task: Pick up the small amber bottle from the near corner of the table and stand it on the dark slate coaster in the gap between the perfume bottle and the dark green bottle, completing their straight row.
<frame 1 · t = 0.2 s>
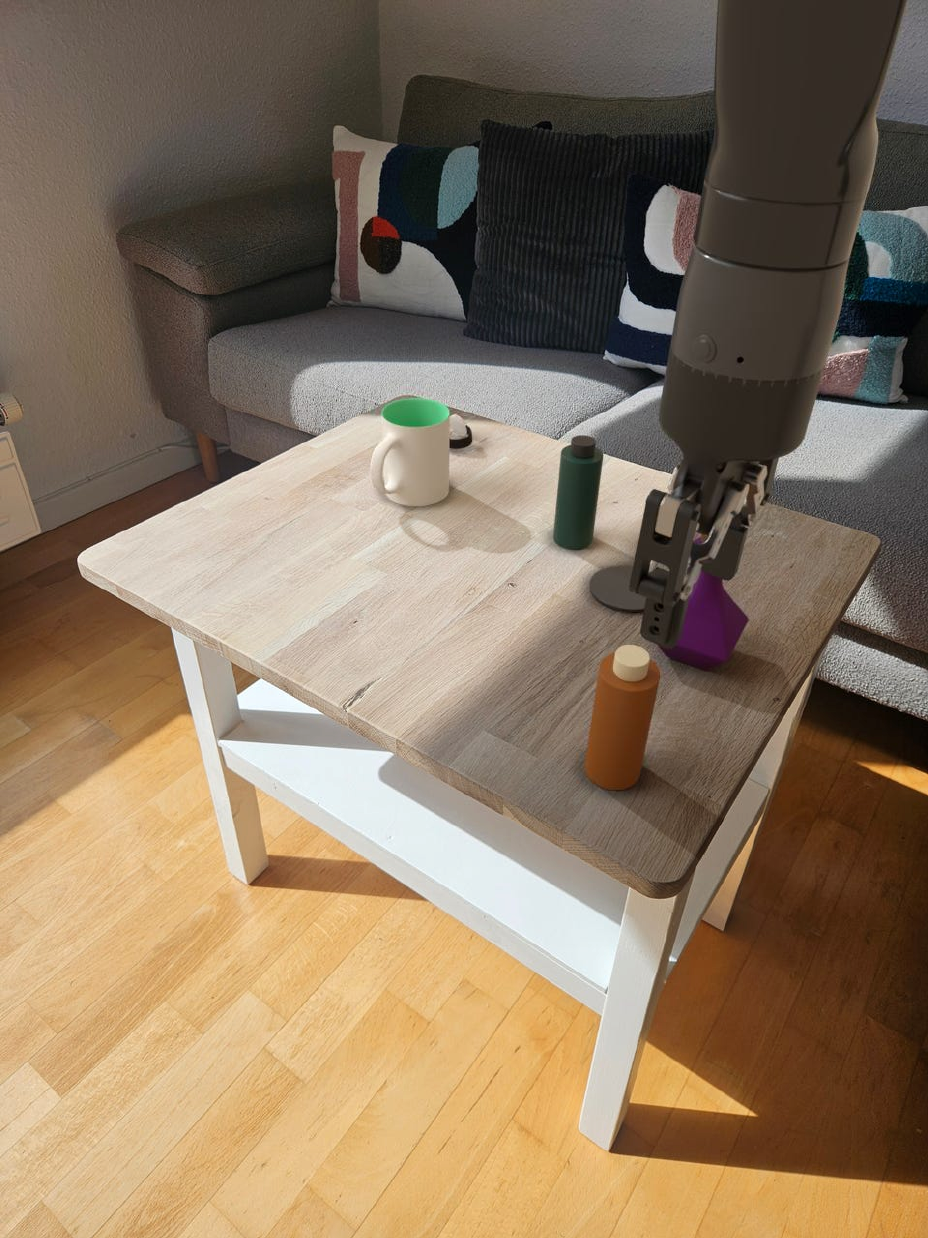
hand: (689, 605, 53), 23 cm above the table, tool pointing down, fingers open, 8 cm apart
watch: (449, 442, 120), on the table
green bottle: (572, 539, 101), on the table
perfume bottle: (693, 654, 85), on the table
slate coaster: (626, 589, 93), on the table
amber bottle: (612, 769, 73), on the table
mug: (408, 497, 108), on the table
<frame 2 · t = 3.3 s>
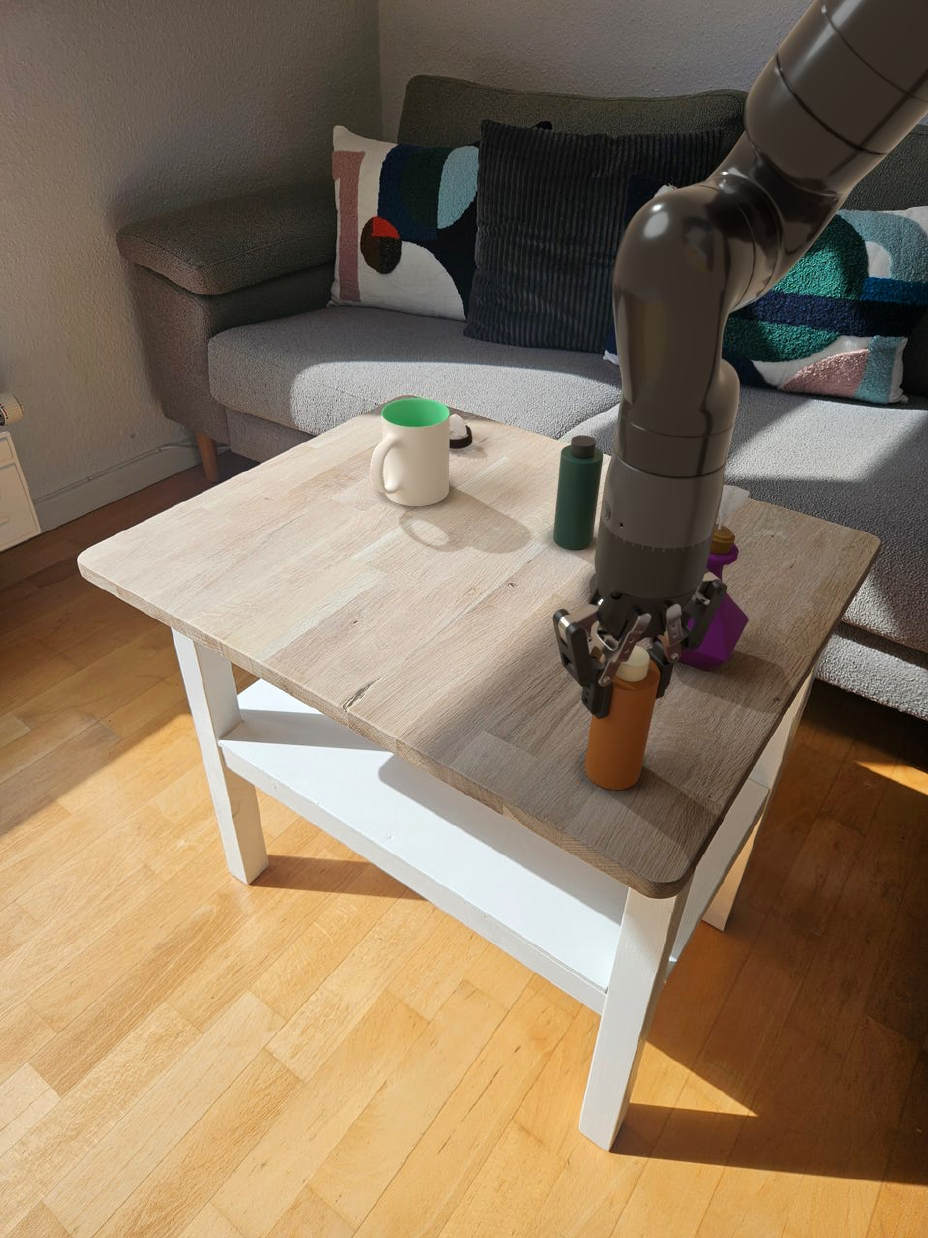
hand: (624, 700, 68), 8 cm above the table, tool pointing down, fingers closed on amber bottle, 4 cm apart
amber bottle: (612, 769, 73), on the table, touching gripper
everything else where it was.
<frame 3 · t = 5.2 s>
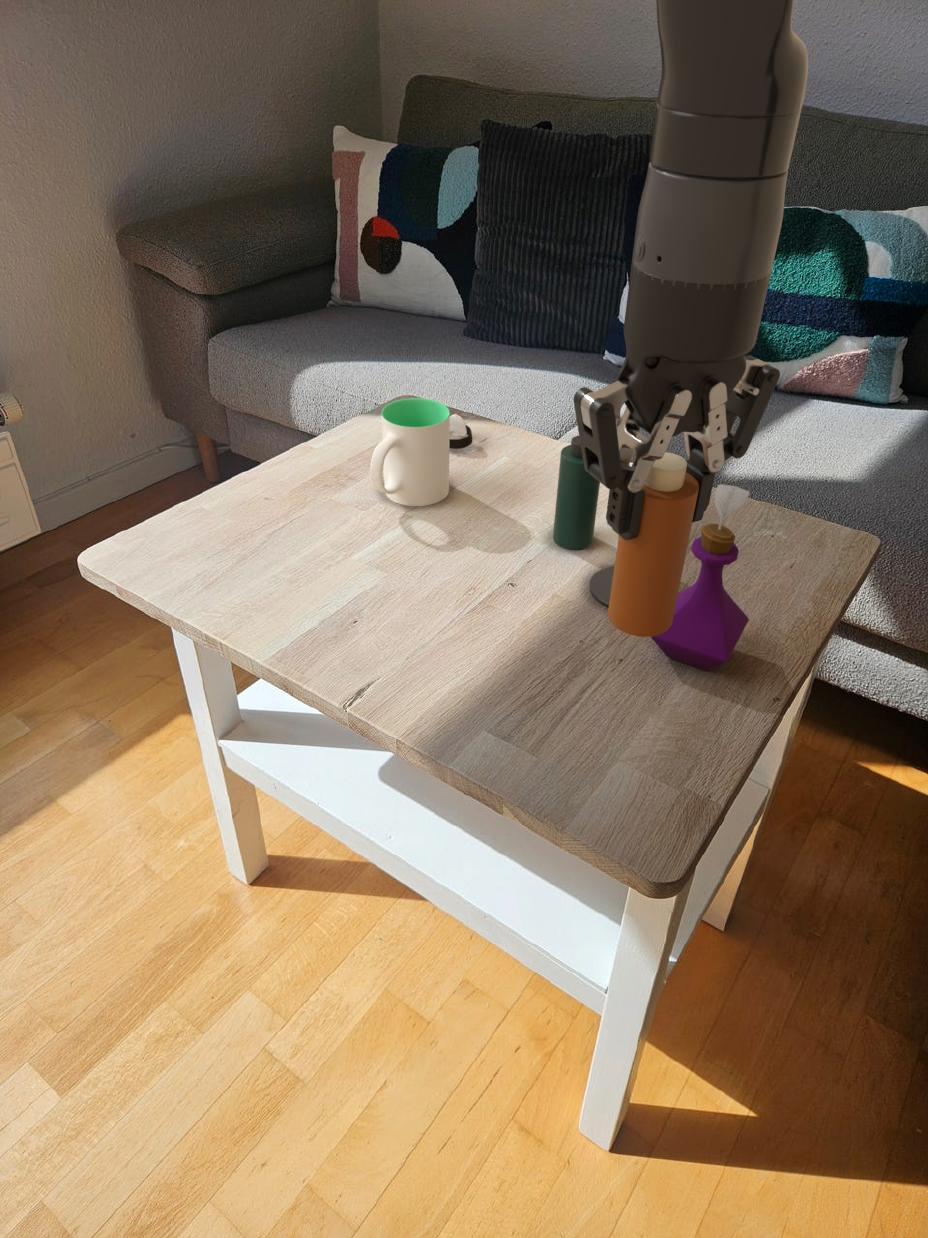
hand: (656, 523, 58), 24 cm above the table, tool pointing down, fingers closed on amber bottle, 4 cm apart
amber bottle: (639, 617, 63), point 16 cm above the table, touching gripper
everything else where it was.
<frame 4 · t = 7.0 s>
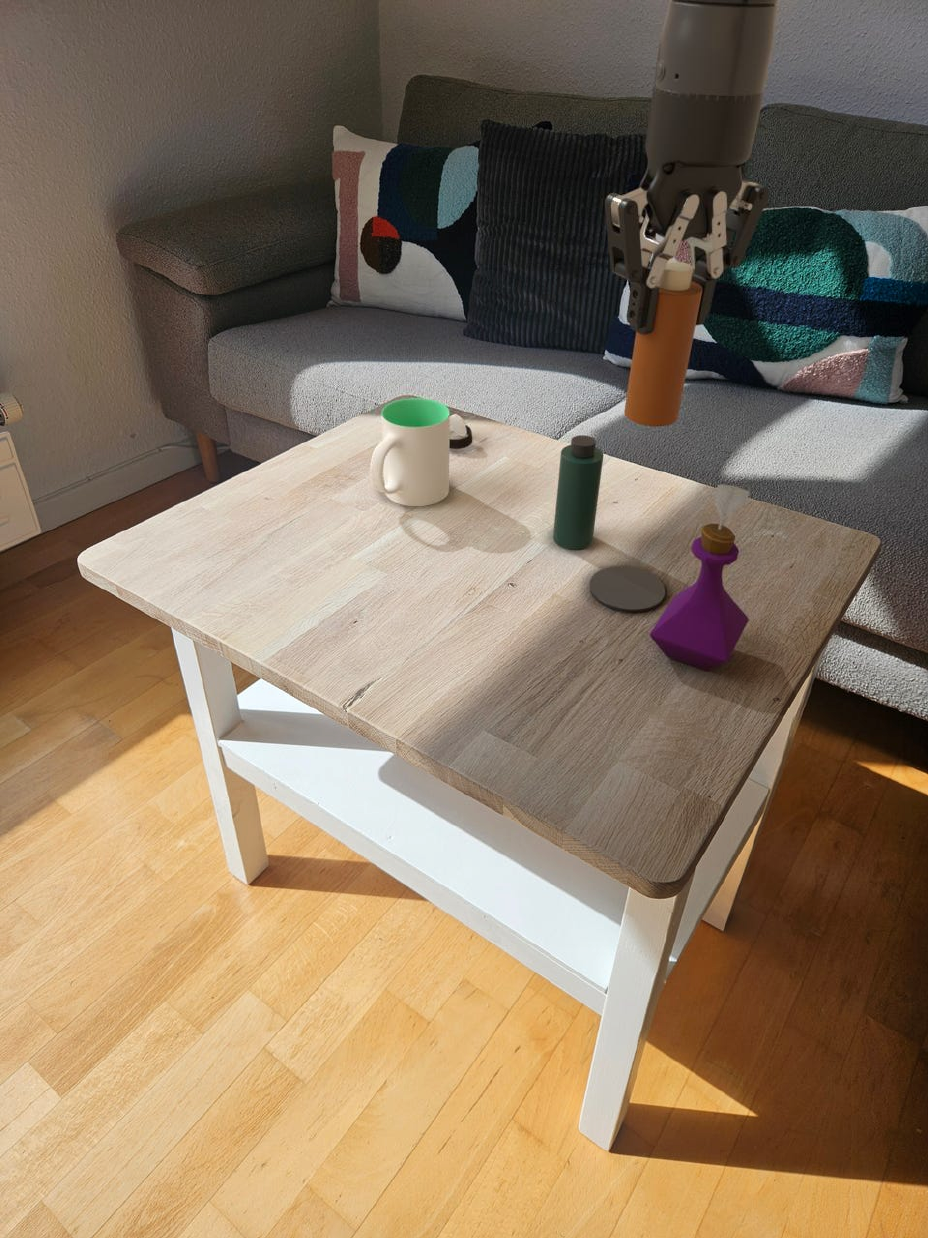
hand: (666, 325, 71), 30 cm above the table, tool pointing down, fingers closed on amber bottle, 4 cm apart
amber bottle: (650, 414, 76), point 22 cm above the table, touching gripper
everything else where it was.
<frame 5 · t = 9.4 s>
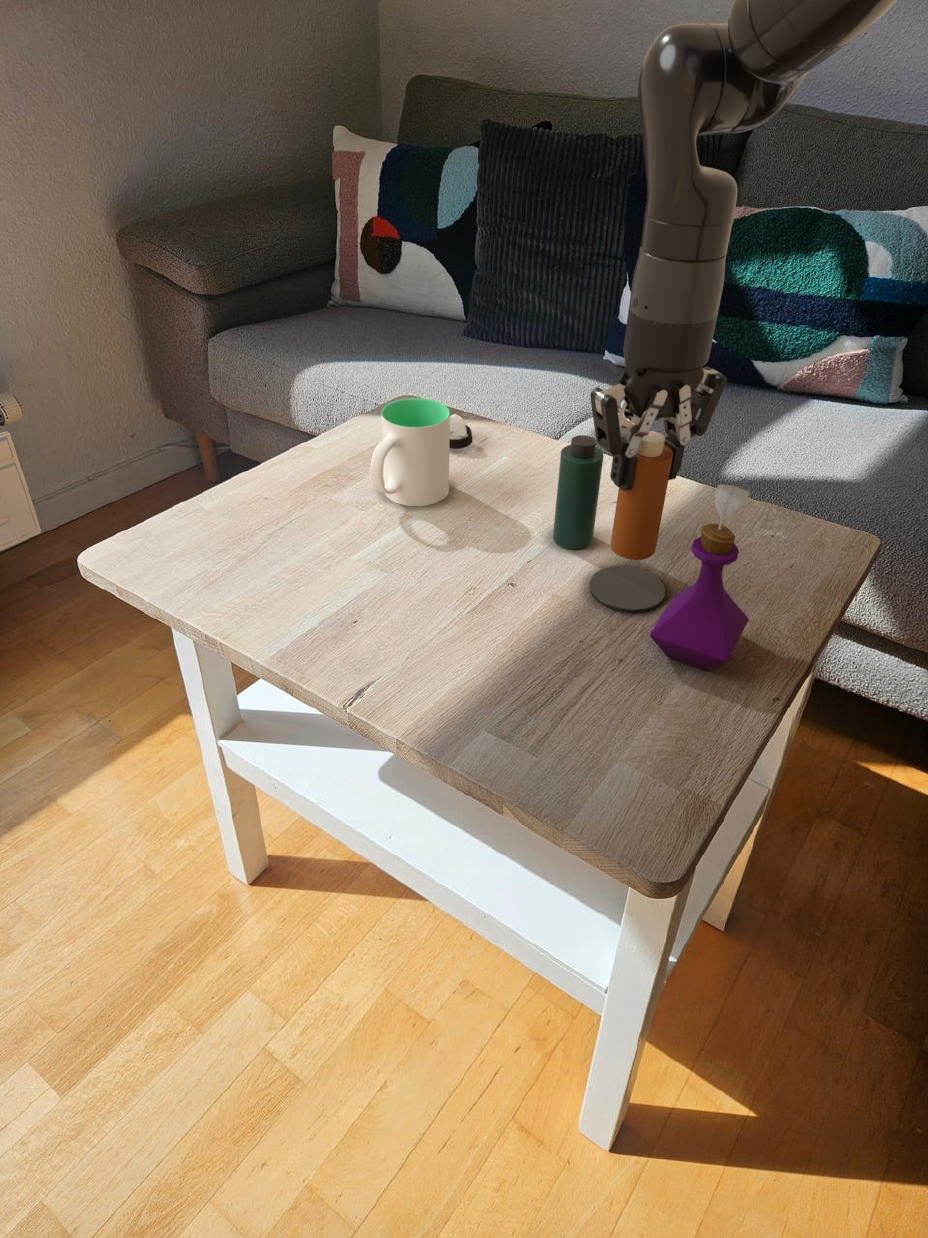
hand: (644, 480, 85), 13 cm above the table, tool pointing down, fingers closed on amber bottle, 4 cm apart
amber bottle: (632, 547, 90), point 5 cm above the table, touching gripper
everything else where it was.
when the fingers open (8 cm above the table, at t = 11.0 s): amber bottle stays where it is, resting on slate coaster.
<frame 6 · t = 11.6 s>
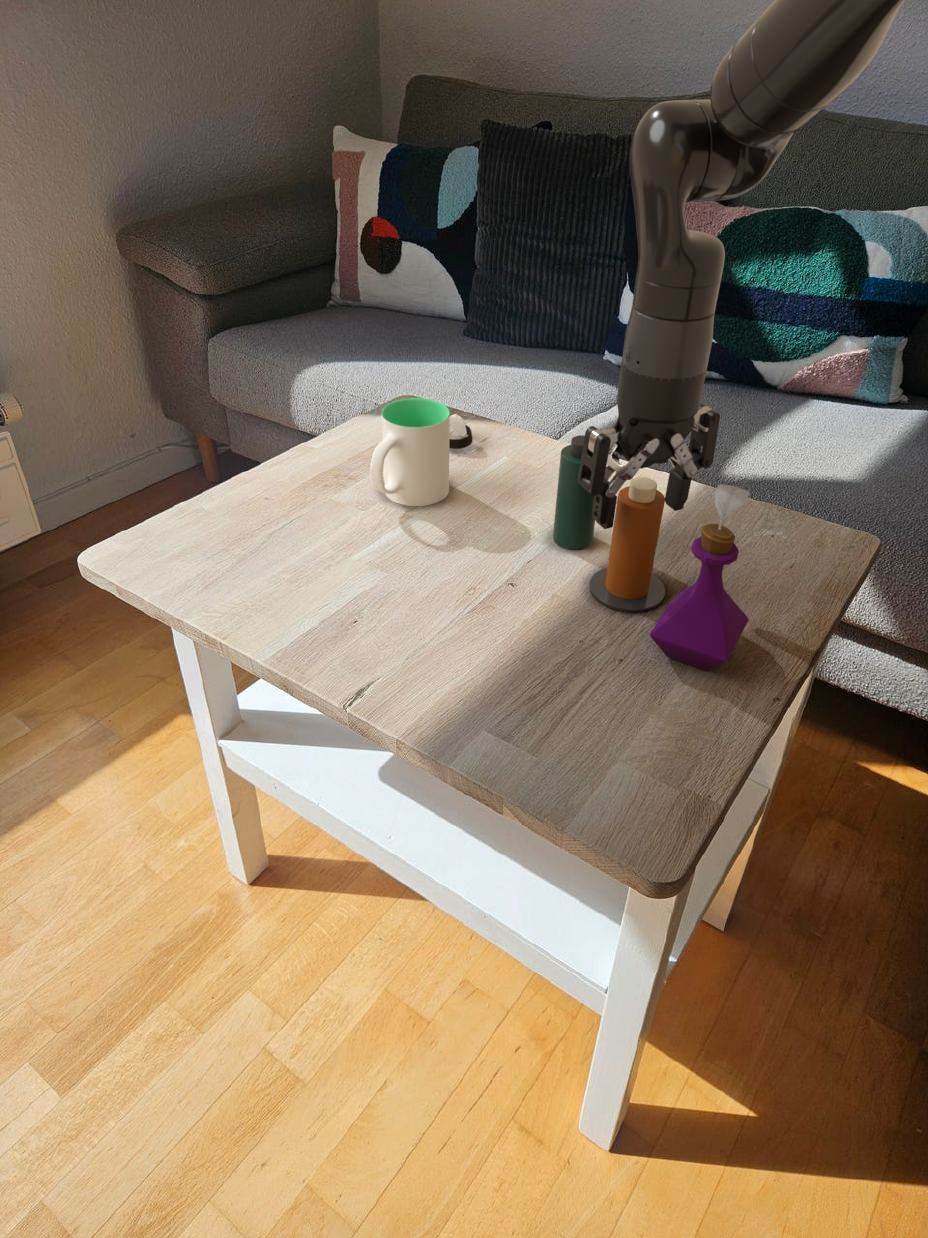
hand: (639, 515, 87), 9 cm above the table, tool pointing down, fingers open, 8 cm apart
amber bottle: (626, 586, 93), resting on slate coaster
everything else where it was.
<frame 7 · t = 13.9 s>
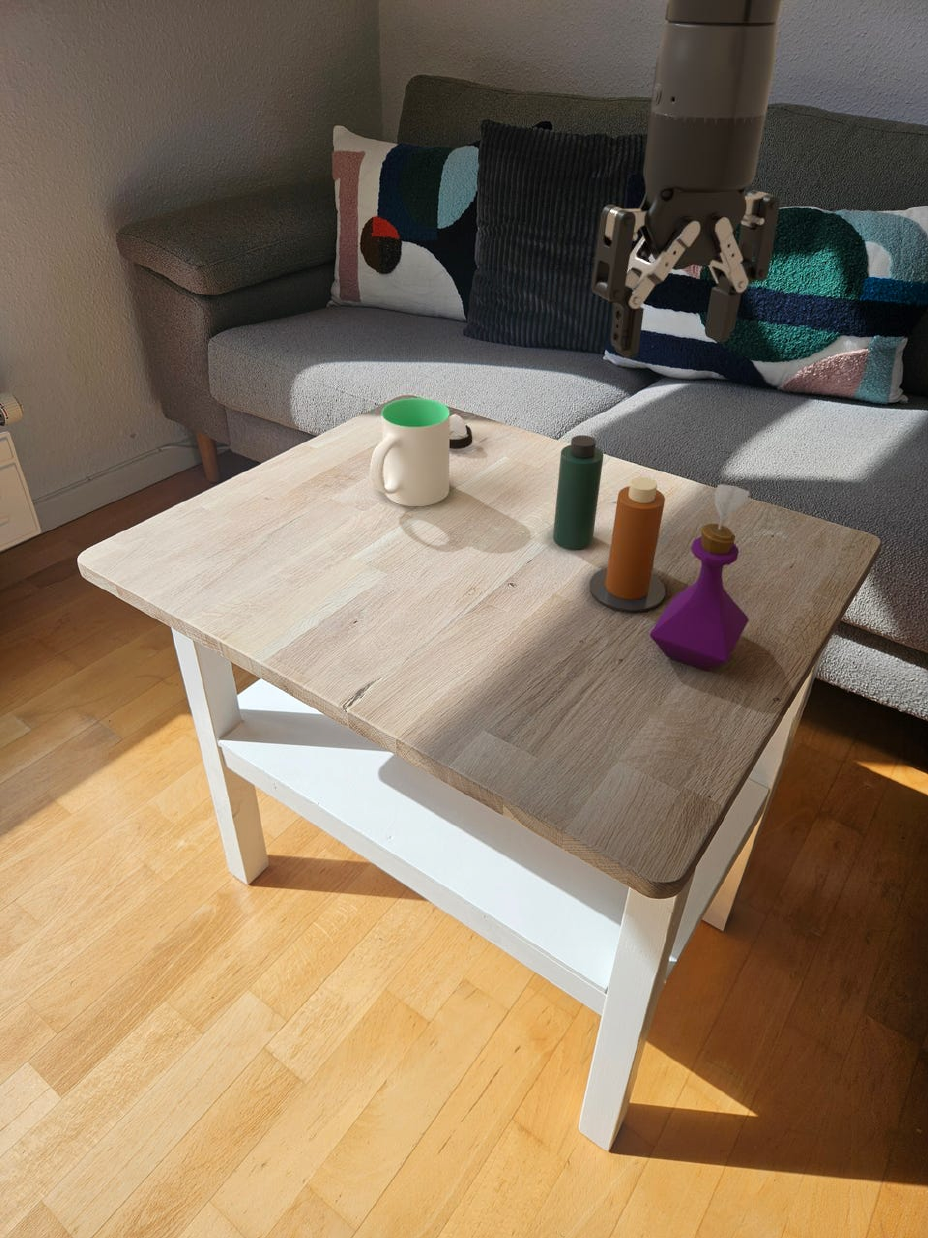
hand: (671, 346, 67), 30 cm above the table, tool pointing down, fingers open, 8 cm apart
nothing on the table moved.
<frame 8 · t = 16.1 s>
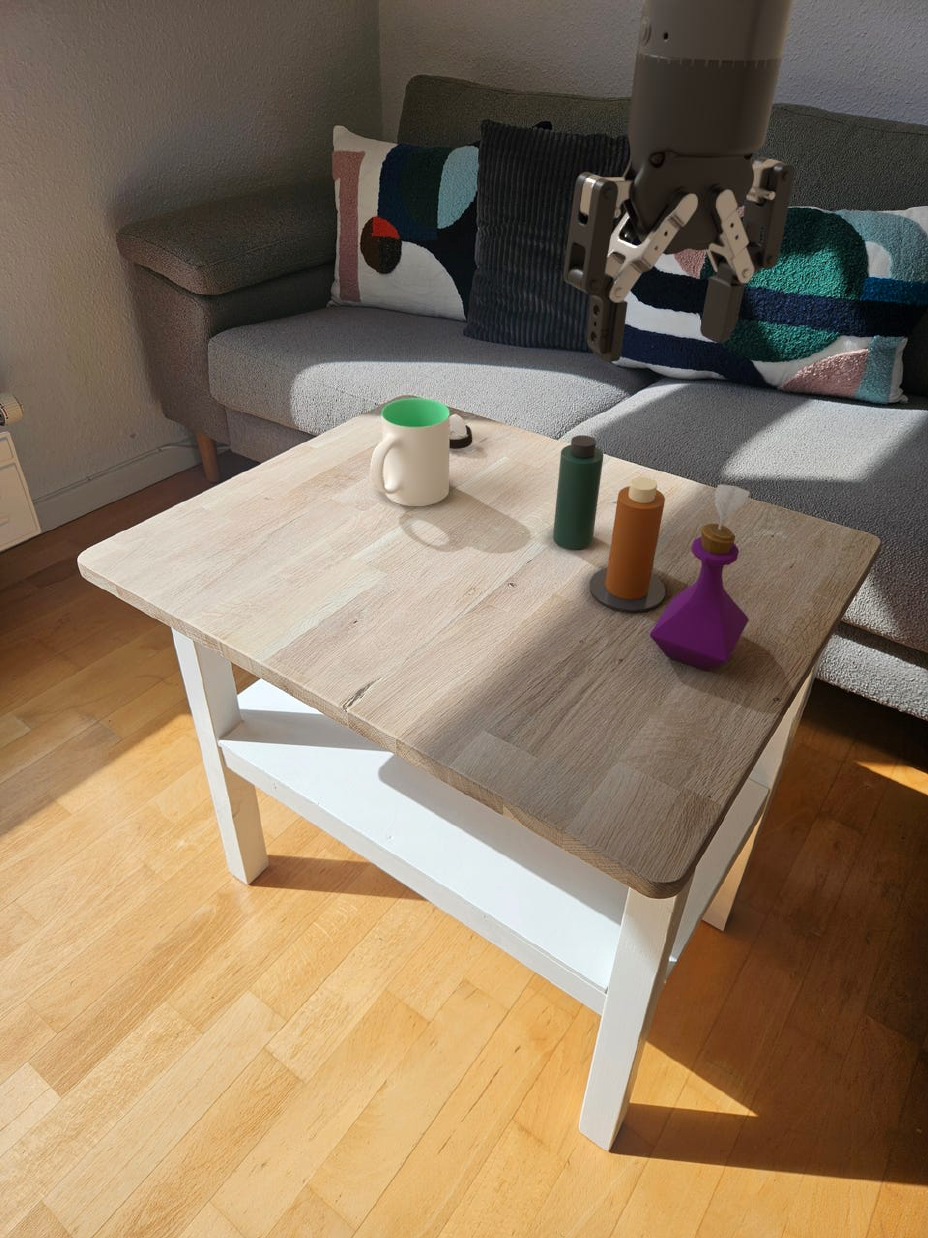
hand: (661, 347, 56), 34 cm above the table, tool pointing down, fingers open, 8 cm apart
nothing on the table moved.
at the end: amber bottle 0.1 cm off-centre on the slate coaster, point 0.4 cm above the slate coaster's base; amber bottle tilted 0°; the gripper is holding nothing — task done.
